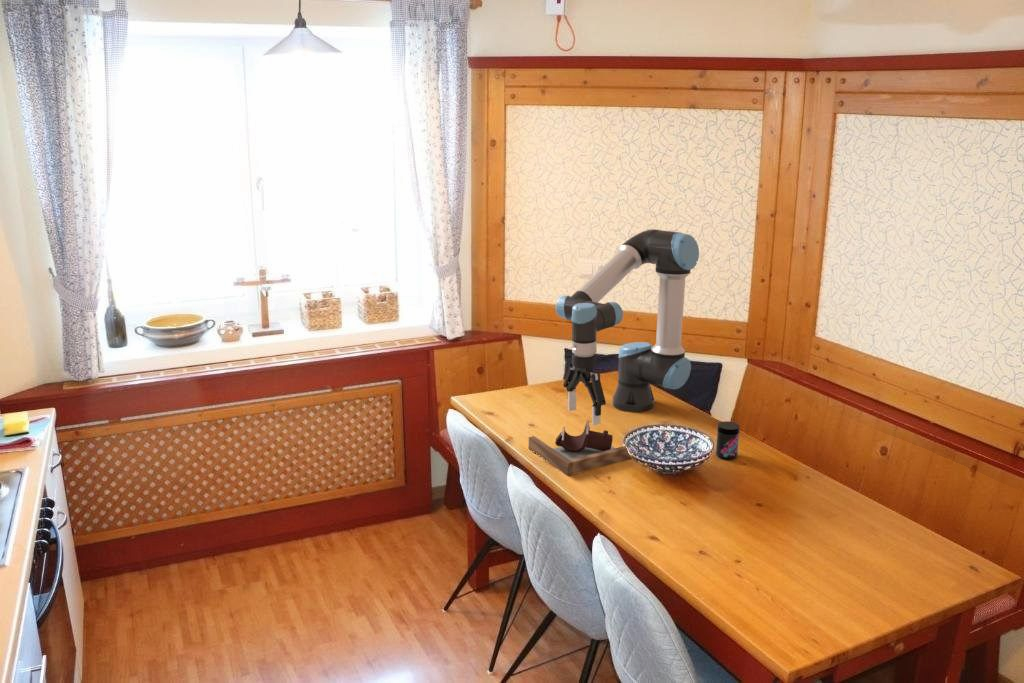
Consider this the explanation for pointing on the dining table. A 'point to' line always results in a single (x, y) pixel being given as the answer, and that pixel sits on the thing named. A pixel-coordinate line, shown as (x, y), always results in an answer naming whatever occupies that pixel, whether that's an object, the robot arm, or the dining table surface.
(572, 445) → the bracket
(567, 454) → the mat
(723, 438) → the supplement container
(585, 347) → the robot arm
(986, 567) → the dining table surface
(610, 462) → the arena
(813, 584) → the dining table surface
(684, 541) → the dining table surface
